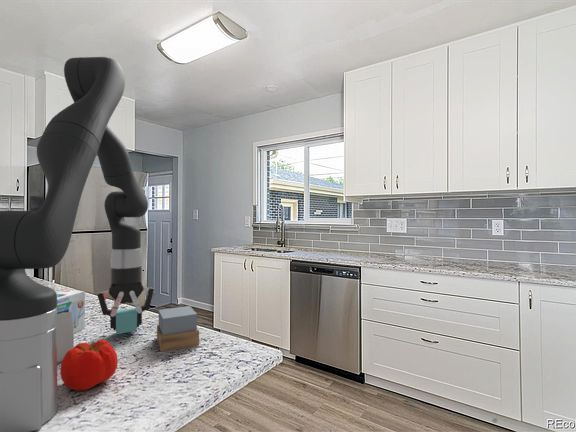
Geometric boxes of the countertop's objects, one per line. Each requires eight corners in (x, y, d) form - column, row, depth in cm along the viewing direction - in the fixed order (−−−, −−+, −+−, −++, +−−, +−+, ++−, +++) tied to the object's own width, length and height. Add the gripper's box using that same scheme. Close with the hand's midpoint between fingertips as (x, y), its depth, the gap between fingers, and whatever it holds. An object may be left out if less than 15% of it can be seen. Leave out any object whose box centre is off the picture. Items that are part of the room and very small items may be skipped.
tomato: (50, 396, 60) (50, 354, 60) (80, 372, 69) (80, 336, 69) (103, 396, 60) (103, 354, 60) (126, 372, 69) (125, 336, 69)
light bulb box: (52, 342, 85) (52, 300, 85) (30, 340, 86) (30, 298, 86) (86, 328, 95) (86, 290, 95) (66, 326, 97) (66, 289, 96)
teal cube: (136, 330, 90) (136, 312, 90) (115, 333, 87) (115, 314, 87) (135, 325, 94) (135, 307, 94) (115, 328, 92) (115, 309, 92)
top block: (196, 329, 84) (196, 313, 84) (163, 335, 80) (163, 318, 80) (189, 320, 91) (189, 305, 91) (158, 325, 87) (158, 309, 87)
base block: (199, 346, 83) (199, 330, 83) (160, 353, 79) (160, 336, 79) (192, 334, 92) (192, 319, 91) (156, 340, 87) (156, 324, 87)
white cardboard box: (73, 357, 76) (73, 313, 76) (37, 367, 71) (36, 320, 71) (69, 352, 79) (68, 310, 79) (33, 361, 74) (33, 316, 74)
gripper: (95, 269, 84) (95, 336, 84) (156, 265, 91) (156, 328, 91) (96, 265, 91) (96, 327, 91) (153, 261, 97) (153, 320, 97)
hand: (126, 327), depth 91 cm, fingers closed on teal cube, 5 cm apart
